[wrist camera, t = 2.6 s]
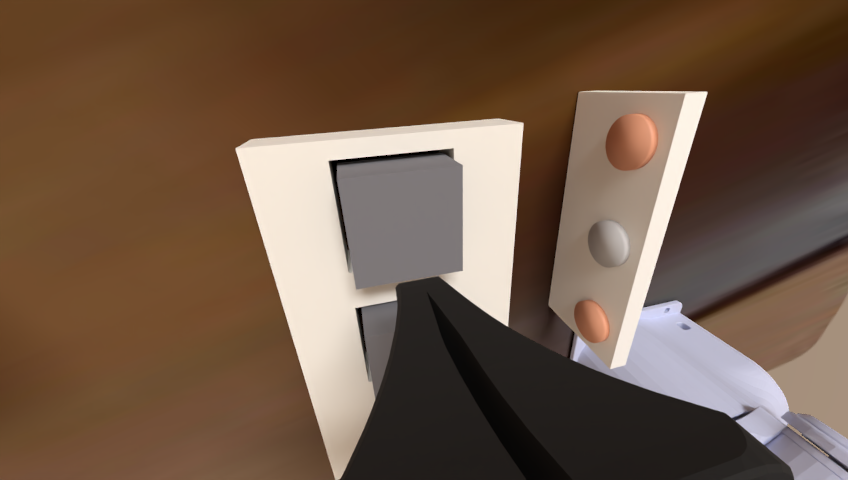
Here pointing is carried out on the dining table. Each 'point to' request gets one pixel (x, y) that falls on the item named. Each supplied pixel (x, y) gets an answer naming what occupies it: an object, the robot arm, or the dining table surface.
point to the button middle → (379, 337)
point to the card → (618, 210)
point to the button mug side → (402, 217)
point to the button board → (330, 260)
